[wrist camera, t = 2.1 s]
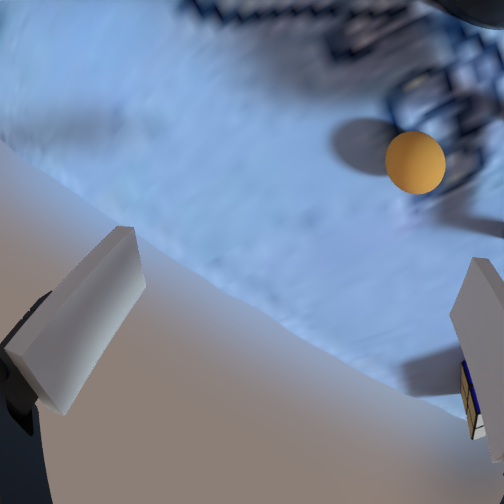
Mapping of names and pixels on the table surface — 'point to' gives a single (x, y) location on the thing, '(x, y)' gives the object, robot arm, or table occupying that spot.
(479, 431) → the puzzle cube
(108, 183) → the table surface
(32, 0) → the table surface
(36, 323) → the robot arm
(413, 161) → the ball
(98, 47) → the table surface
